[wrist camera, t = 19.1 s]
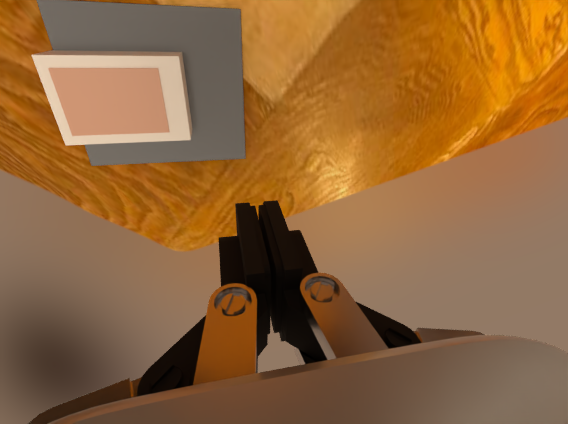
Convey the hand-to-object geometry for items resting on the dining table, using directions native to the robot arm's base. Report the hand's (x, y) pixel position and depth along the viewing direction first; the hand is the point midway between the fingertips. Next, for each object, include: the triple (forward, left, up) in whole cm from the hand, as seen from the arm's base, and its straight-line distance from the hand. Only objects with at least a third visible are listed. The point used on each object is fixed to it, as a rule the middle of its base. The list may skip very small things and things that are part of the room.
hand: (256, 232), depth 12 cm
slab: (+4, 0, -25) cm, 25 cm away
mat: (+7, 0, -27) cm, 28 cm away
